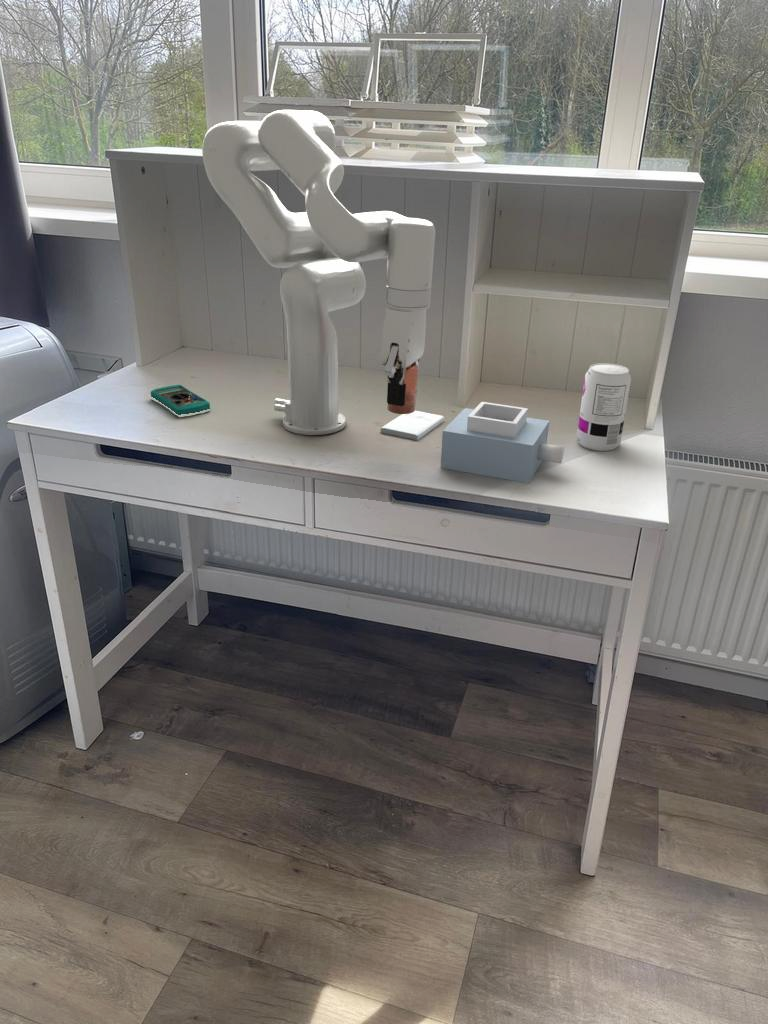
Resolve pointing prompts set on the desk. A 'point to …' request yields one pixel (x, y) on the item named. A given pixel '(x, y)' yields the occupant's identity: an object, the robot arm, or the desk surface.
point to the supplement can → (603, 406)
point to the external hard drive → (412, 425)
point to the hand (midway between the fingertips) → (401, 398)
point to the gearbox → (498, 443)
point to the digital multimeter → (180, 399)
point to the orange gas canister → (407, 391)
